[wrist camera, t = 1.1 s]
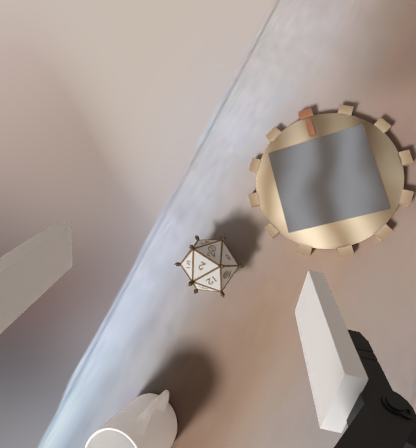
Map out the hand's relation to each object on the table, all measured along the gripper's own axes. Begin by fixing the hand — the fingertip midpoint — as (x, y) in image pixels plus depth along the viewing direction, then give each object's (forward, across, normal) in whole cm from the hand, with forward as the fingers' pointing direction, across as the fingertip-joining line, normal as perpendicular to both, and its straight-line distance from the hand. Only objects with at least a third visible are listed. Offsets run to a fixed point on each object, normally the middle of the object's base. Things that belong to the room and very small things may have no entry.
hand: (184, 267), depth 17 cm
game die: (+26, +2, -15) cm, 30 cm away
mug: (+17, -3, -37) cm, 41 cm away
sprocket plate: (+29, +14, 0) cm, 33 cm away
